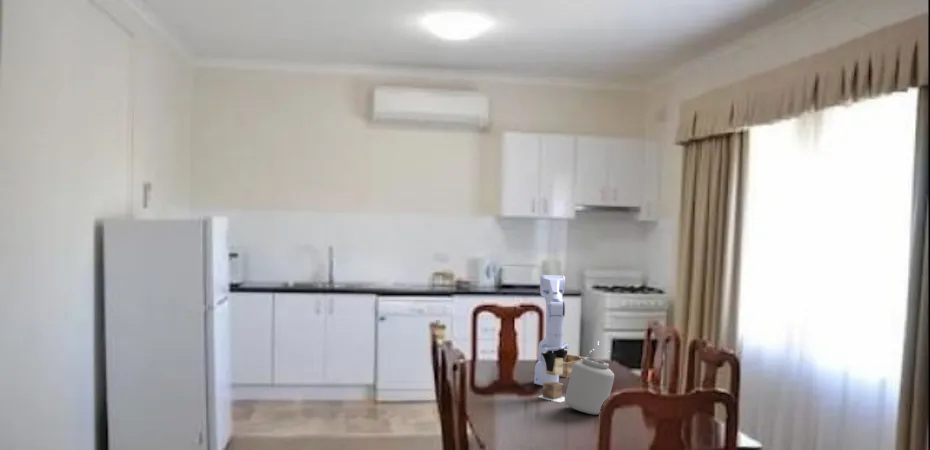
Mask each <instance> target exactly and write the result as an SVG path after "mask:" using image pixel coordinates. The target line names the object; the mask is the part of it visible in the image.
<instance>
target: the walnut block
mask: <svg viewBox="0 0 930 450" xmlns="http://www.w3.org/2000/svg"><path fill="white" fill-rule="evenodd" d="M562 384H563V383H562ZM562 384H561V382H559V383H557V382H553V381H550V382H546V383H543V385H542V395H543V397H546V398H550V399H557V398H560V397H563V396H562V395H563V385H562Z"/></svg>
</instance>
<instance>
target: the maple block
mask: <svg viewBox="0 0 930 450" xmlns="http://www.w3.org/2000/svg"><path fill="white" fill-rule="evenodd" d="M546 374H549V375H553V376H557V375H561V374H563V358H560V357H555V360H554V366H553V371H552V372H551V371H547V367H546Z"/></svg>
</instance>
